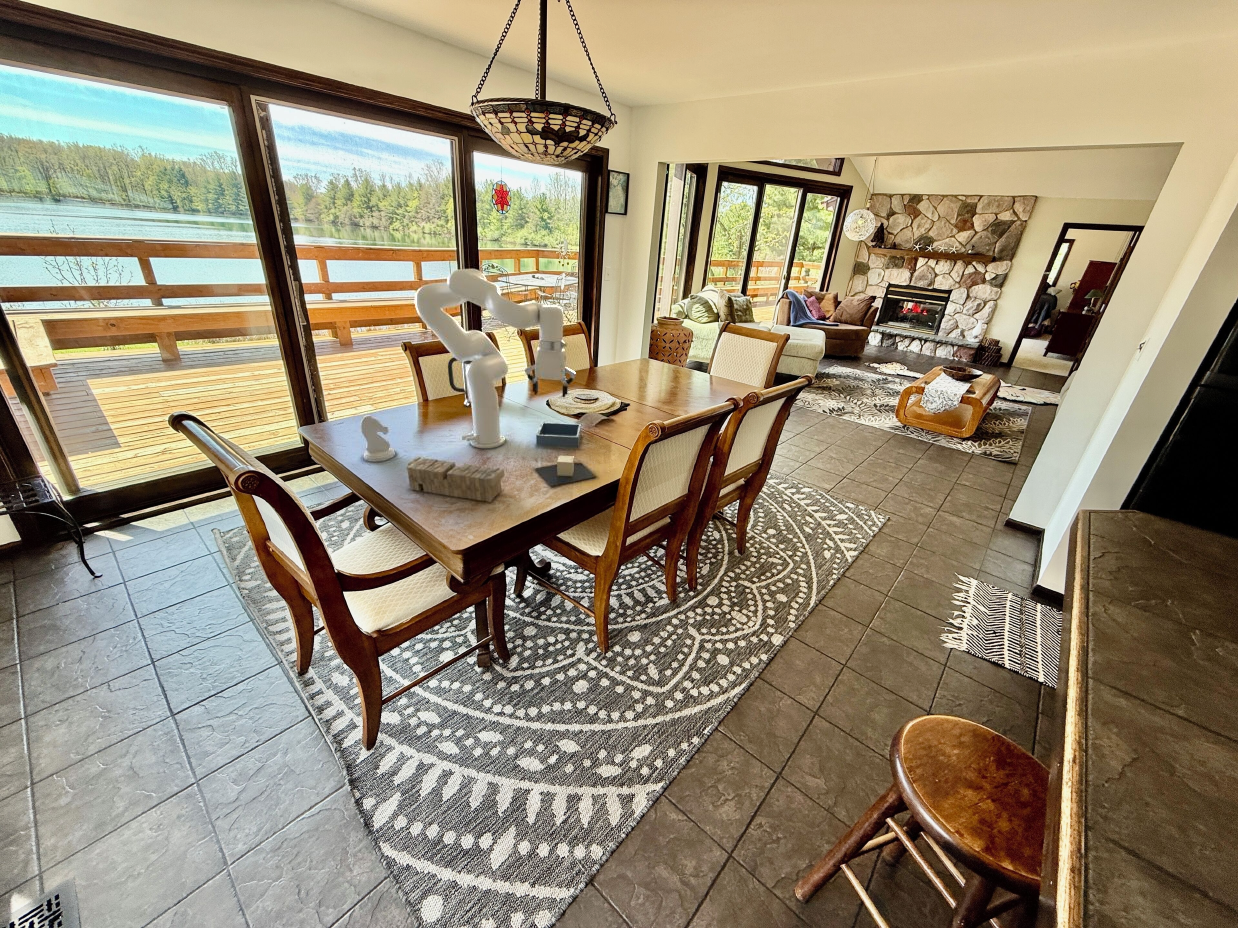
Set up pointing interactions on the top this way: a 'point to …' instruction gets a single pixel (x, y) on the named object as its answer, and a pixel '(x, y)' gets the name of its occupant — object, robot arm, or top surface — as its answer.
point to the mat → (555, 480)
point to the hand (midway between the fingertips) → (550, 394)
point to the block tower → (455, 479)
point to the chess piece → (375, 440)
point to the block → (565, 465)
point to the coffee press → (466, 386)
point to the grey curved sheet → (592, 418)
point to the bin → (558, 435)
